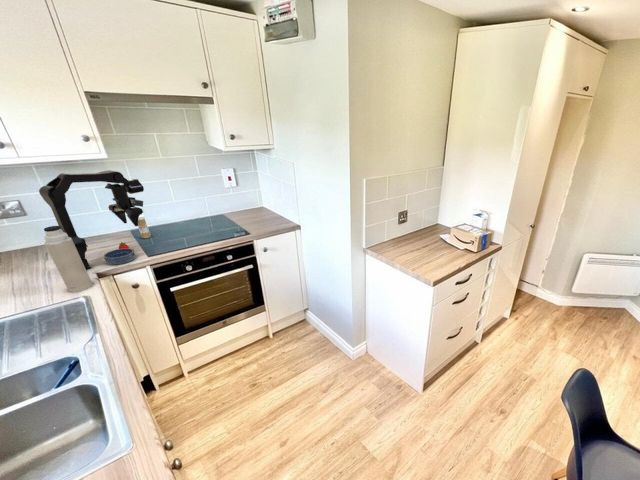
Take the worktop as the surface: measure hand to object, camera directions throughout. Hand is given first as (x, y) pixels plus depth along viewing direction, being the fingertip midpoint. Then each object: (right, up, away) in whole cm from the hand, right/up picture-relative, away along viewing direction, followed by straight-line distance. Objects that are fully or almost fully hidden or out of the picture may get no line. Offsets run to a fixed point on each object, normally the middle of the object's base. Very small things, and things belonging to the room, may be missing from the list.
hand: (131, 224), depth 172 cm
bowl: (0, -19, -6) cm, 20 cm away
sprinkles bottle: (-9, -5, +21) cm, 23 cm away
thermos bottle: (+3, -32, -30) cm, 44 cm away
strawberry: (-5, -14, +3) cm, 16 cm away
